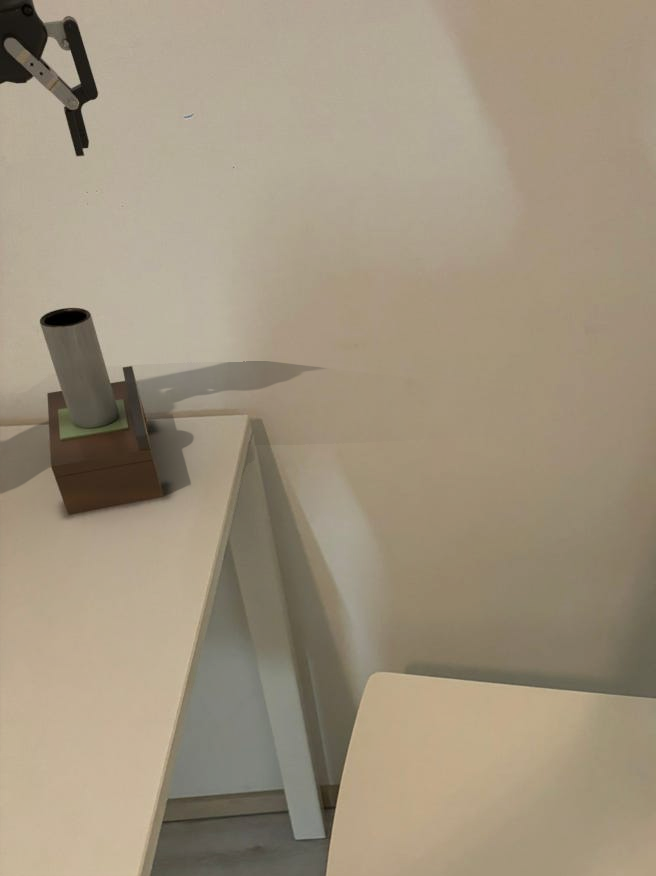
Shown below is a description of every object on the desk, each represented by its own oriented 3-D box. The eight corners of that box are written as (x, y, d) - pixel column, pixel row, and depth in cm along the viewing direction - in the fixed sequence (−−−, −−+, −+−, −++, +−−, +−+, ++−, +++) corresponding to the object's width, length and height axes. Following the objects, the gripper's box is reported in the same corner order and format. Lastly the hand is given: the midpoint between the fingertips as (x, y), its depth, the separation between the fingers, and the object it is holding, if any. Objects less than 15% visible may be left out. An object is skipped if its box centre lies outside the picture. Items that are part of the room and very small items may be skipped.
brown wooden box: (64, 443, 102) (42, 379, 97) (148, 429, 104) (132, 365, 100) (70, 520, 91) (45, 452, 86) (164, 502, 93) (146, 434, 88)
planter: (62, 426, 92) (29, 324, 86) (87, 405, 96) (56, 305, 89) (104, 430, 92) (73, 328, 85) (127, 409, 95) (99, 309, 88)
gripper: (57, -72, 79) (109, 142, 89) (-130, -65, 75) (-53, 157, 86) (60, -64, 73) (115, 161, 84) (-142, -56, 70) (-58, 178, 80)
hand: (30, 159), depth 85 cm, fingers open, 8 cm apart
